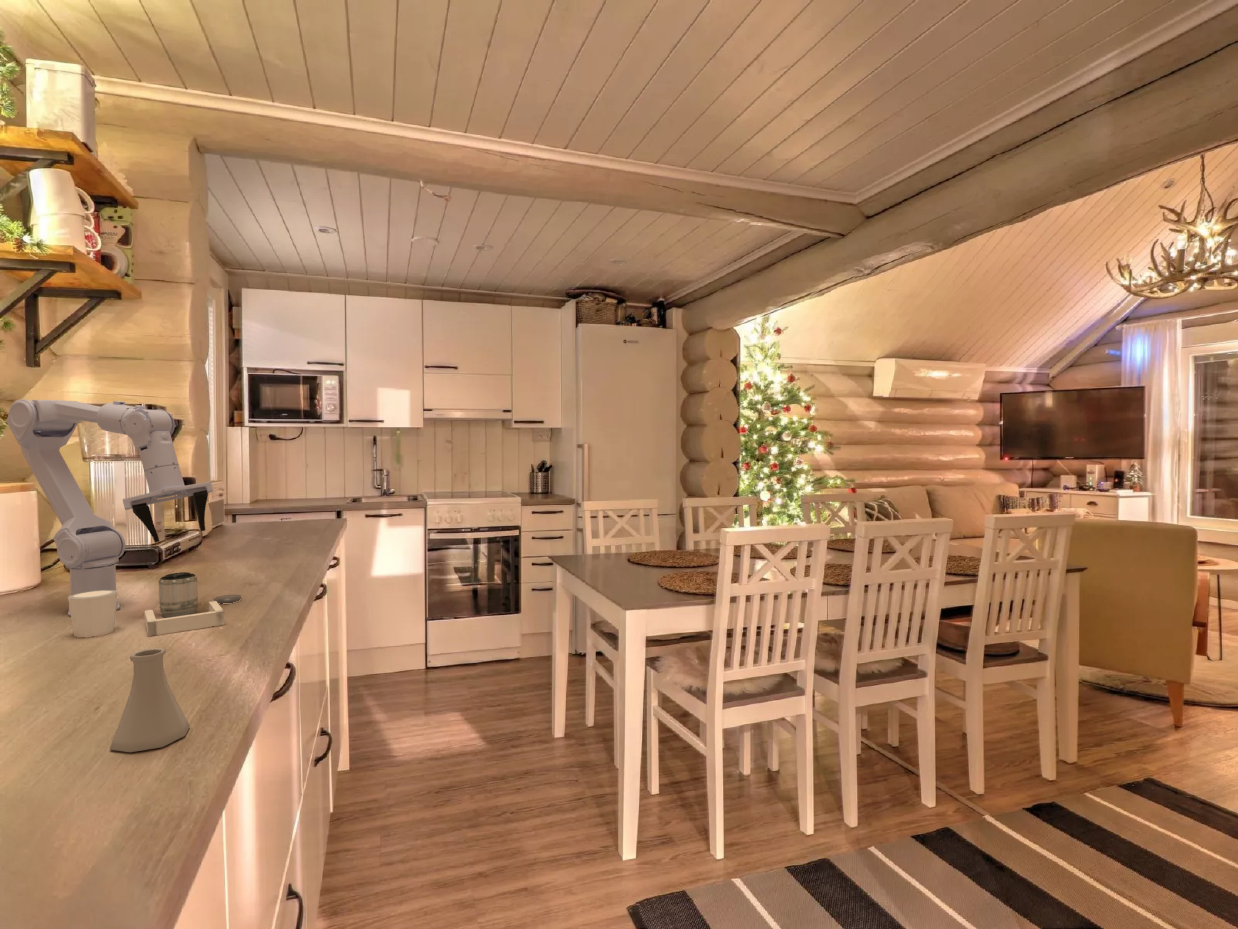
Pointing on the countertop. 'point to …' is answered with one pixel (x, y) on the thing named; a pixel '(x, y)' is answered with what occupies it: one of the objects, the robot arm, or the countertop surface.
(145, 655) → the flask
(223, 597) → the grey round disc
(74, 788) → the countertop surface
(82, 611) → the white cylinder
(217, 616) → the cradle
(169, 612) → the camera lens
